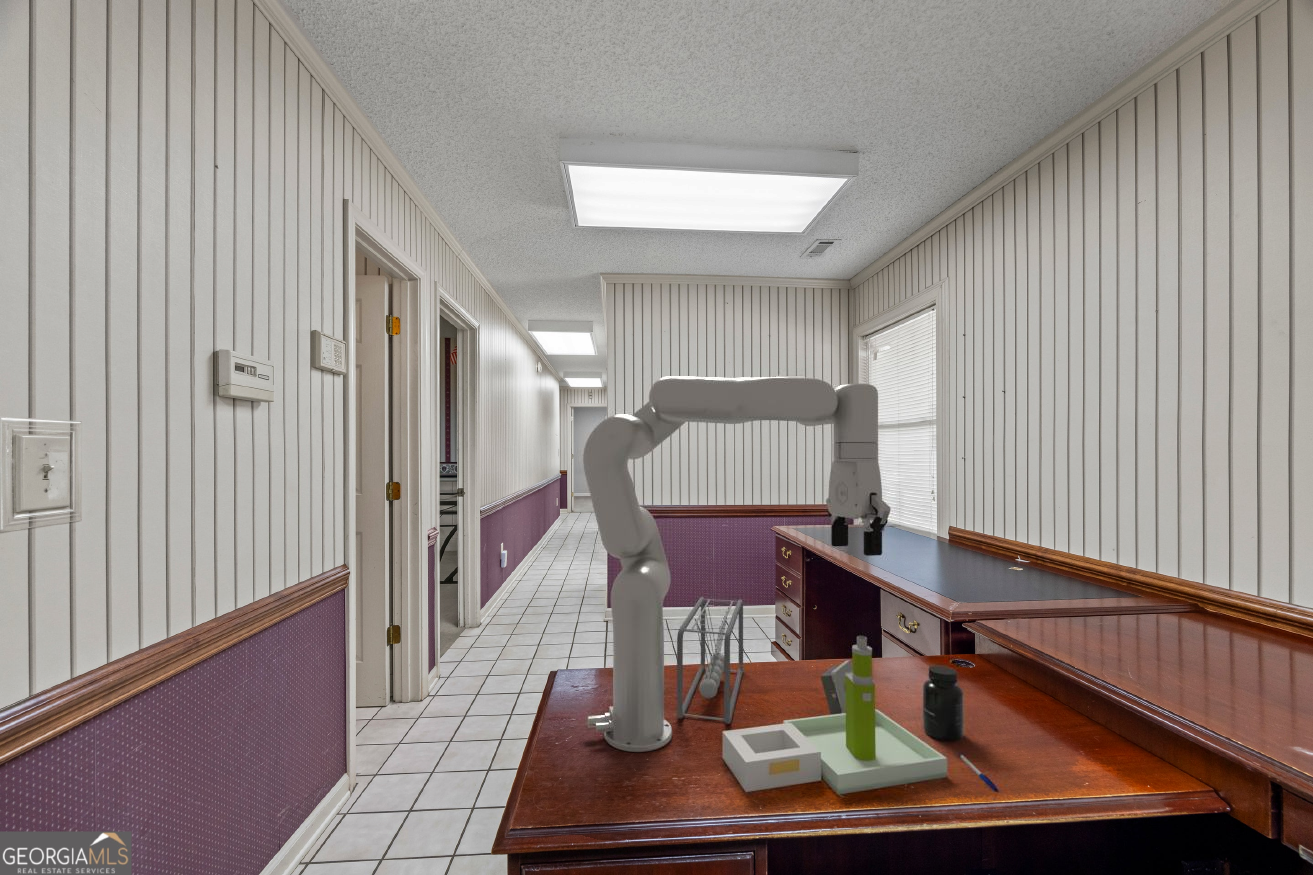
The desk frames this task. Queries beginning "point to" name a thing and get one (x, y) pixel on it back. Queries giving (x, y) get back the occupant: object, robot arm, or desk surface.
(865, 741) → the vape
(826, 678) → the electrical switch
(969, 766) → the ballpoint pen
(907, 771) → the parts tray
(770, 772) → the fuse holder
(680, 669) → the newton's cradle
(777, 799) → the desk surface
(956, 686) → the supplement bottle
